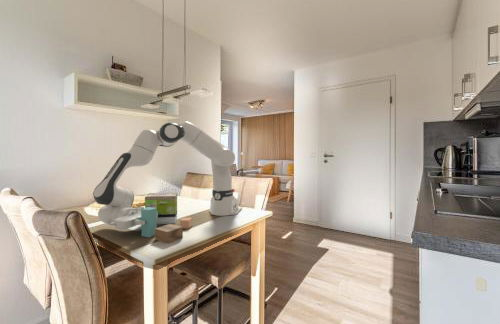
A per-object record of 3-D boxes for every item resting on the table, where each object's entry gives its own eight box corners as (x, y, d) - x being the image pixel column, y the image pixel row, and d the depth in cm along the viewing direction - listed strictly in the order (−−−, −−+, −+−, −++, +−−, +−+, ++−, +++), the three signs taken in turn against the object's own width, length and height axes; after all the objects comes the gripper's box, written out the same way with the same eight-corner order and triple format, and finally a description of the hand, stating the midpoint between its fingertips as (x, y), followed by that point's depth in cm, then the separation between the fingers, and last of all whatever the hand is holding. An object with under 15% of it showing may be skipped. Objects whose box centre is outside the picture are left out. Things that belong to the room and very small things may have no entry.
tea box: (144, 225, 123) (144, 196, 122) (148, 219, 132) (148, 192, 132) (175, 223, 126) (175, 195, 125) (177, 218, 135) (177, 192, 135)
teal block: (149, 232, 112) (148, 207, 111) (157, 234, 110) (156, 207, 110) (141, 236, 108) (141, 209, 107) (149, 237, 106) (148, 210, 105)
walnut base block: (170, 234, 110) (170, 223, 110) (182, 238, 106) (182, 226, 106) (155, 240, 104) (154, 228, 103) (167, 244, 99) (167, 232, 99)
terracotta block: (183, 225, 123) (183, 217, 123) (192, 225, 123) (192, 217, 123) (180, 228, 119) (180, 220, 119) (189, 228, 118) (188, 220, 118)
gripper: (106, 216, 104) (131, 220, 99) (144, 205, 123) (166, 208, 117) (107, 231, 104) (131, 235, 99) (144, 218, 123) (166, 221, 118)
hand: (150, 220), depth 108 cm, fingers closed on teal block, 4 cm apart
